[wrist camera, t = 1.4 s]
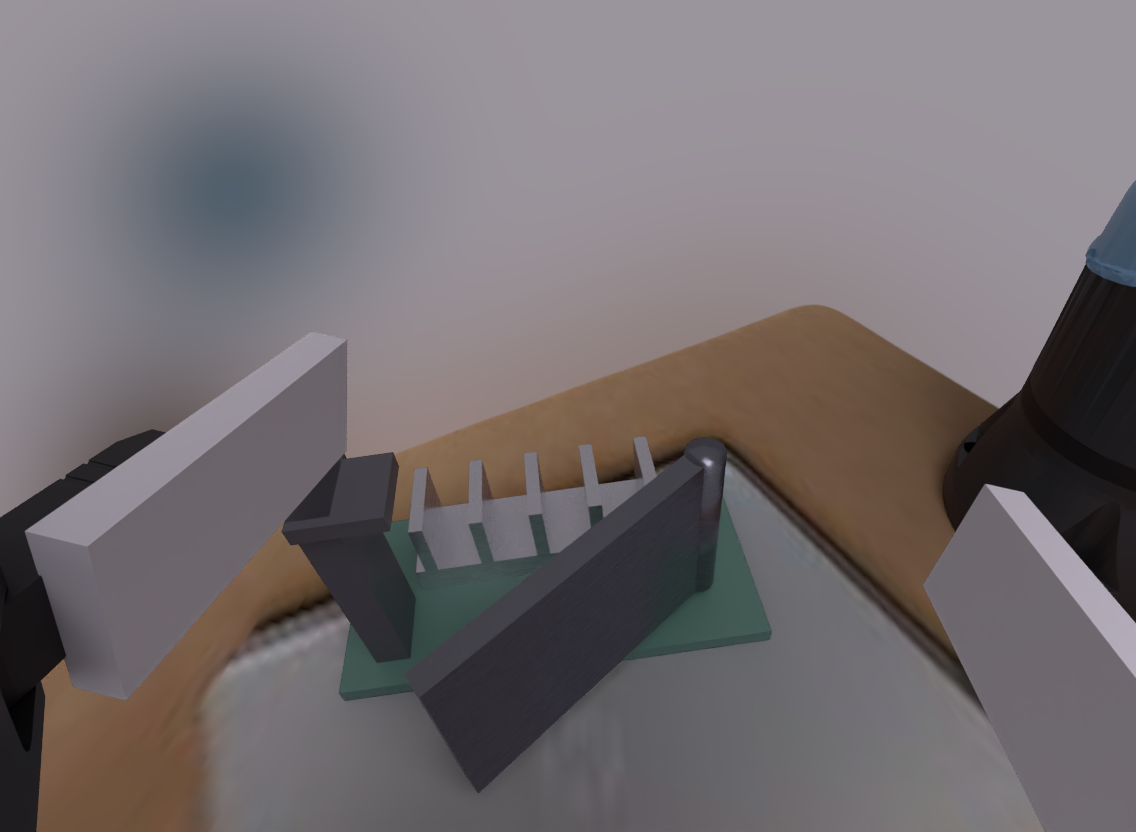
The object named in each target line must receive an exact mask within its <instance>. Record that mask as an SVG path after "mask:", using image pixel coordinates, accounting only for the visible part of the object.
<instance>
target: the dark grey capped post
mask: <svg viewBox="0 0 1136 832" xmlns="http://www.w3.org/2000/svg"><path fill="white" fill-rule="evenodd" d="M398 468H399V465H398V463H397V461H396V458H395V456H394V453H393V452H391V453H384V454H377V455H370V456H363V457H356V458H349V459H347V458H346V456H345V454H343V455H342V456H341V458H340V459H339V460H338V461H337V462H336V463H335V464H334V466H333V467H332V468H331V469H330V470H329V471H328V472H327V473H326V475H325V476H324V477H323V478H322V479H321V480H320V481H319V483H318V484H317V485H316V486H315V487H314V488H313V489H312V491H311V492H310V493H309V494H308V495H307V496H306V497H305V498H304V500H303V501H302V502H301V503H300V504H299V505H298V506H297V508H296V509H295V510H294V511H293V512H292V513H291V514H290V515H289V517H288V518H287V519H286V520H285V522H284V526H283V529H282V533H283V535H284V536H285V538H286V539H287V540H288V542H289V543H290V545H297V544H299V546H300V547H301V549H302V550H303V552H304V553H305V555H306V556H307V558H308V559H309V561H310V562H311V564H312V566H313V567H314V569H315V570H316V572H317V573H318V575H319V576H320V578H321V579H322V581H323V582H324V584H325V585H326V587H327V588H328V590H329V591H330V593H331V594H332V596H333V597H334V599H335V600H336V602H337V603H338V605H339V606H340V608H341V609H342V611H343V612H344V614H345V616H346V617H347V619H348V620H349V622H350V623H351V625H352V626H353V628H354V629H355V631H356V632H357V634H358V635H359V637H360V638H361V640H362V641H363V643H364V644H365V646H366V647H367V649H368V650H369V652H370V653H371V655H372V656H373V658H374V659H375V661H376V662H377V663H381V662H388V661H395V660H402V659H409V658H411V648H412V637H413V625H414V613H415V602H416V598H415V596H414V594H413V592H412V590H411V588H410V585H409V583H408V581H407V579H406V577H405V575H404V573H403V571H402V569H401V567H400V565H399V563H398V561H397V559H396V557H395V555H394V553H393V551H392V549H391V547H390V545H389V543H388V541H387V539H386V537H385V535H384V533H383V532H388V531H390V529H391V522H392V514H393V506H394V499H395V491H396V484H397V476H398Z"/></svg>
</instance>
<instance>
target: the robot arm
mask: <svg viewBox="0 0 1136 832" xmlns="http://www.w3.org/2000/svg"><path fill="white" fill-rule="evenodd" d="M1086 258H1087V259H1086V265H1085V267H1084V269H1083V271H1082V273H1081V275H1080V277H1079V279H1078V281H1077V283H1076V285H1075V286H1074V289H1073V290H1072V293H1071V294H1070V296H1069V299H1068V300H1067V302H1066V304H1065V306H1064V308H1063V310H1062V312H1061V314H1060V316H1059V318H1058V320H1057V322H1056V324H1055V326H1054V328H1053V330H1052V332H1051V334H1050V336H1049V338H1048V340H1047V342H1046V344H1045V346H1044V347H1043V349H1042V351H1041V353H1040V355H1039V357H1038V359H1037V361H1036V362H1035V364H1034V367H1033V369H1032V371H1031V373H1030V375H1029V377H1028V378H1027V380H1026V382H1025V384H1024V386H1023V388H1022V390H1021V391H1020V392H1019V393H1018V394H1016V395H1015V396H1014V397H1013V398H1012V399H1010V400H1009V401H1008V402H1007V403H1006V404H1004V405H1003V406H1002V407H1001V408H1000V409H998V410H997V411H996V412H995V413H994V414H992V415H991V416H990V417H989V418H988V419H986V420H985V421H984V422H983V423H982V424H981V425H980V426H978V427H977V428H976V429H974V430H973V431H972V432H971V433H970V434H969V435H968V436H967V437H966V438H965V439H964V440H963V442H962V443H961V444H960V446H959V447H958V449H957V451H956V453H955V455H954V457H953V459H952V461H951V463H950V465H949V468H948V470H947V472H946V475H945V479H944V485H943V495H944V502H945V506H946V509H947V512H948V515H949V517H950V519H951V521H952V523H953V525H954V527H955V529H956V532H955V534H954V535H953V537H952V539H951V540H950V542H949V543H948V545H947V547H946V548H945V550H944V552H943V553H942V555H941V557H940V558H939V560H938V561H937V563H936V565H935V566H934V568H933V570H932V571H931V573H930V575H929V576H928V578H927V580H926V581H925V583H924V584H923V587H924V589H925V591H926V593H927V595H928V597H929V599H930V601H931V603H932V605H933V607H934V609H935V611H936V613H937V615H938V617H939V619H940V621H941V623H942V625H943V627H944V629H945V631H946V633H947V635H948V637H949V639H950V641H951V643H952V645H953V647H954V649H955V651H956V653H957V655H958V657H959V659H960V661H961V663H962V665H963V667H964V669H965V671H966V673H967V675H968V677H969V679H970V681H971V683H972V685H973V687H974V689H975V691H976V694H977V696H978V698H979V700H980V702H981V704H982V706H983V708H984V710H985V712H986V714H987V716H988V718H989V720H990V722H991V724H992V726H993V728H994V730H995V732H996V734H997V736H998V738H999V740H1000V742H1001V744H1002V746H1003V748H1004V750H1005V752H1006V754H1007V756H1008V758H1009V760H1010V762H1011V764H1012V766H1013V768H1014V770H1015V772H1016V774H1017V776H1018V778H1019V780H1020V782H1021V784H1022V786H1023V788H1024V790H1025V792H1026V794H1027V796H1028V798H1029V800H1030V802H1031V804H1032V806H1033V808H1034V810H1035V812H1036V814H1037V816H1038V818H1039V820H1040V822H1041V824H1042V826H1043V828H1044V830H1045V832H1136V181H1135V182H1134V183H1133V184H1132V185H1131V187H1130V188H1129V189H1128V191H1127V192H1126V194H1125V196H1124V198H1123V199H1122V201H1121V202H1120V204H1119V206H1118V207H1117V209H1116V211H1115V212H1114V214H1113V216H1112V217H1111V219H1110V221H1109V222H1108V224H1107V226H1106V227H1105V229H1104V231H1103V232H1102V234H1101V235H1100V236H1098V237H1097V238H1096V239H1095V240H1094V241H1093V242H1092V244H1091V245H1090V247H1089V249H1088V251H1087V253H1086ZM346 429H347V340H346V339H342V338H337V337H333V336H329V335H324V334H320V333H315V332H310V333H309V334H308V335H306V336H305V337H303V338H302V339H300V340H299V341H297V342H296V343H295V344H293V345H292V346H290V347H289V348H287V349H286V350H284V351H283V352H282V353H280V354H279V355H277V356H276V357H274V358H273V359H272V360H270V361H269V362H267V363H266V364H264V365H263V366H262V367H260V368H259V369H257V370H256V371H254V372H253V373H251V374H250V375H249V376H247V377H246V378H244V379H243V380H241V381H240V382H238V383H237V384H236V385H234V386H233V387H231V388H230V389H228V390H227V391H226V392H224V393H223V394H221V395H220V396H218V397H217V398H215V399H214V400H213V401H211V402H210V403H208V404H207V405H205V406H204V407H203V408H201V409H200V410H198V411H197V412H195V413H194V414H192V415H191V416H190V417H188V418H187V419H185V420H184V421H182V422H181V423H180V424H178V425H177V426H175V427H174V428H172V429H171V430H170V431H168V432H167V433H165V432H161V431H156V430H153V429H152V430H149V431H146V432H143V433H140V434H138V435H135V436H132V437H129V438H126V439H124V440H121V441H118V442H116V443H114V444H113V445H111V446H110V447H108V448H107V449H105V450H103V451H102V452H100V453H99V454H98V455H96V456H94V457H93V458H91V459H90V460H89V462H88V464H82V465H80V466H79V467H77V468H76V469H74V470H73V471H71V472H70V473H68V474H67V475H66V478H65V479H64V480H63V479H59V480H57V481H56V482H54V483H53V484H51V485H50V486H48V487H47V488H45V489H44V490H42V491H40V492H39V493H37V494H36V495H34V496H33V497H31V498H30V499H28V500H27V501H25V502H23V503H22V504H20V505H19V506H18V507H16V508H14V509H13V510H11V511H10V512H8V513H7V514H5V515H3V516H2V517H0V832H36V827H37V812H38V797H39V782H40V767H41V752H42V737H43V722H44V707H45V694H44V690H43V687H42V683H41V680H42V679H43V678H44V677H45V676H46V675H47V674H48V673H49V672H50V671H51V670H52V669H53V668H54V667H55V666H57V665H58V664H59V663H60V662H61V661H62V660H63V659H65V662H66V666H67V669H68V672H69V675H70V679H71V682H72V685H73V687H74V688H78V689H82V690H86V691H90V692H94V693H98V694H102V695H106V696H109V697H113V698H117V699H121V700H125V701H127V699H128V698H129V697H130V696H131V695H132V694H133V693H134V692H135V690H136V689H137V688H138V687H139V686H140V685H141V684H142V682H143V681H144V680H145V679H146V678H147V677H148V676H149V674H150V673H151V672H152V671H153V670H154V669H155V668H156V667H157V665H158V664H159V663H160V662H161V661H162V660H163V659H164V657H165V656H166V655H167V654H168V653H169V652H170V651H171V649H172V648H173V647H174V646H175V645H176V644H177V643H178V642H179V640H180V639H181V638H182V637H183V636H184V635H185V634H186V632H187V631H188V630H189V629H190V628H191V627H192V626H193V625H194V623H195V622H196V621H197V620H198V619H199V618H200V617H201V615H202V614H203V613H204V612H205V611H206V610H207V609H208V607H209V606H210V605H211V604H212V603H213V602H214V601H215V600H216V598H217V597H218V596H219V595H220V594H221V593H222V592H223V590H224V589H225V588H226V587H227V586H228V585H229V584H230V582H231V581H232V580H233V579H234V578H235V577H236V576H237V575H238V573H239V572H240V571H241V570H242V569H243V568H244V567H245V565H246V564H247V563H248V562H249V561H250V560H251V559H252V558H253V556H254V555H255V554H256V553H257V552H258V551H259V550H260V548H261V547H262V546H263V545H264V544H265V543H266V542H267V540H268V539H269V538H270V537H271V536H272V535H273V534H274V533H275V531H276V530H277V529H278V528H279V527H280V526H281V525H282V523H283V522H284V521H285V520H286V519H287V518H288V517H289V515H290V514H291V513H292V512H293V511H294V510H295V509H296V508H297V506H298V505H299V504H300V503H301V502H302V501H303V500H304V498H305V497H306V496H307V495H308V494H309V493H310V492H311V491H312V489H313V488H314V487H315V486H316V485H317V484H318V483H319V481H320V480H321V479H322V478H323V477H324V476H325V475H326V473H327V472H328V471H329V470H330V469H331V468H332V467H333V466H334V464H335V463H336V462H337V461H338V460H339V459H340V458H341V456H342V455H343V454H344V453H345V452H346V440H347V437H346V434H347V430H346Z"/></svg>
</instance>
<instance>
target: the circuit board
mask: <svg viewBox="0 0 1136 832" xmlns="http://www.w3.org/2000/svg"><path fill="white" fill-rule="evenodd" d="M408 529H409V519H408V520H401V521H394V522H391V529H390V531H388V532H383V533H384V535H385V537H386V539H387V541H388V543H389V545H390V547H391V549H392V551H393V553H394V555H395V557H396V559H397V561H398V563H399V565H400V567H401V569H402V571H403V573H404V575H405V577H406V579H407V581H408V583H409V585H410V588H411V590H412V592H413V594H414V596H415V598H416V602H415V613H414V625H413V637H412V648H411V658H409V659H402V660H395V661H388V662H381V663H377V662H376V661H375V659H374V658H373V656H372V655H371V653H370V652H369V650H368V649H367V647H366V646H365V644H364V643H363V641H362V640H361V638H360V637H359V635H358V634H357V632H356V631H355V629H354V628H353V626H352V625H351V624H350V630H349V636H348V642H347V648H346V654H345V660H344V666H343V672H342V678H341V684H340V690H339V694H340V695H341V696H342V698H343V699H344V700H345V701H346V700H353V699H360V698H367V697H374V696H381V695H388V694H395V693H402V692H409V691H414V690H413V689H412V687H411V685H410V684H409V682H408V681H407V679H406V677H405V676H404V673H406V672H407V671H408V670H409V669H411V668H412V667H413V666H414V665H416V664H417V663H418V662H420V661H421V660H422V659H423V658H425V657H426V656H427V655H429V654H430V653H431V652H432V651H434V650H435V649H436V648H438V647H439V646H440V645H441V644H443V643H444V642H445V641H447V640H448V639H449V638H450V637H452V636H453V635H454V634H456V633H457V632H458V631H459V630H461V629H462V628H463V627H464V626H466V625H467V624H468V623H470V622H471V621H472V620H473V619H475V618H476V617H477V616H479V615H480V614H481V613H482V612H484V611H485V610H486V609H488V608H489V607H490V606H491V605H493V604H494V603H495V602H497V601H498V600H499V599H500V598H502V597H503V596H504V595H506V594H507V593H508V592H509V591H511V590H512V589H513V588H514V587H516V586H517V585H518V584H520V583H521V582H522V581H523V580H525V579H526V578H527V577H529V576H530V575H527V576H520V577H513V578H506V579H499V580H492V581H485V582H478V583H471V584H464V585H457V586H450V587H443V588H436V589H429V590H424V589H423V587H422V585H421V582H420V580H419V578H418V576H417V574H416V567H417V556H418V554H417V551H416V549H415V547H414V545H413V542H412V540H411V538H410V536H409V534H408ZM771 632H772V631H771V628H770V625H769V622H768V620H767V617H766V614H765V611H764V609H763V606H762V603H761V600H760V598H759V595H758V592H757V589H756V587H755V584H754V581H753V578H752V576H751V573H750V570H749V567H748V565H747V562H746V559H745V556H744V554H743V551H742V548H741V545H740V543H739V540H738V537H737V534H736V532H735V529H734V526H733V523H732V521H731V518H730V515H729V512H728V510H727V507H726V504H725V501H724V499H723V496H722V505H721V515H720V524H719V534H718V544H717V553H716V563H715V572H714V581H713V584H712V586H711V587H710V588H709V589H708V590H706V591H703V592H695V593H694V594H693V595H692V596H691V597H690V598H689V599H688V600H686V601H685V602H684V603H683V604H682V605H681V606H680V607H679V608H678V609H677V610H676V611H675V612H673V613H672V614H671V615H670V616H669V617H668V618H667V619H666V620H665V621H664V622H663V623H662V624H661V625H659V626H658V627H657V628H656V629H655V630H654V631H653V632H652V633H651V634H650V635H649V636H648V637H647V638H645V639H644V640H643V641H642V642H641V643H640V644H639V645H638V646H637V647H636V648H635V649H634V650H632V651H631V652H630V653H629V654H628V655H627V656H626V657H625V658H624V659H623V660H622V661H624V660H631V659H637V658H644V657H651V656H658V655H665V654H672V653H679V652H686V651H693V650H700V649H707V648H714V647H721V646H728V645H735V644H741V643H748V642H755V641H762V640H769V639H770V636H771Z"/></svg>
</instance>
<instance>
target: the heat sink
mask: <svg viewBox="0 0 1136 832" xmlns="http://www.w3.org/2000/svg"><path fill="white" fill-rule="evenodd" d="M633 446H634V470H635V479H634V480H627V481H620V482H613V483H606V484H599V485H598V480H597V474H596V468H595V463H594V457H593V452H592V446H591V444H587V445H580V446H579V452H580V460H581V468H582V476H583V484H584V487H578V488H571V489H564V490H557V491H550V492H544V488H543V482H542V477H541V472H540V467H539V462H538V457H537V452H531V453H524V460H525V474H526V489H527V495H522V496H515V497H508V498H501V499H494V500H493V497H492V493H491V490H490V486H489V483H488V479H487V476H486V472H485V468H484V465H483V461H482V459H481V460H474V461H469V503H466V504H459V505H452V506H445V507H442V505H441V503H440V500H439V497H438V495H437V492H436V489H435V487H434V484H433V481H432V478H431V476H430V473H429V470H428V468H427V467H425V468H418V469H415V472H414V481H413V491H412V500H411V510H410V519H409V529H408V534H409V536H410V538H411V540H412V542H413V545H414V547H415V549H416V551H417V554H418V556H417V567H416V574H417V576H418V578H419V580H420V582H421V585H422V587H423V589H424V590H429V589H436V588H443V587H450V586H457V585H464V584H471V583H478V582H485V581H492V580H499V579H506V578H513V577H520V576H527V575H531V574H532V573H534V572H535V571H536V570H538V569H539V568H540V567H541V566H543V565H544V564H545V563H547V562H548V561H549V560H550V559H552V558H553V557H554V556H555V555H557V554H558V553H559V552H561V551H562V550H563V549H564V548H566V547H567V546H568V545H570V544H571V543H572V542H573V541H575V540H576V539H577V538H579V537H580V536H581V535H582V534H584V533H585V532H586V531H588V530H589V529H590V528H591V527H593V526H594V525H595V524H597V523H598V522H599V521H600V520H602V519H603V518H604V517H605V516H607V515H608V514H609V513H611V512H612V511H613V510H614V509H616V508H617V507H618V506H620V505H621V504H622V503H623V502H625V501H626V500H627V499H629V498H630V497H631V496H632V495H634V494H635V493H636V492H638V491H639V490H640V489H641V488H643V487H644V486H645V485H647V484H648V483H649V482H650V481H652V480H653V479H654V478H655V477H657V476H656V472H655V469H654V465H653V461H652V458H651V454H650V450H649V447H648V443H647V439H646V436H643V437H636V438H633Z"/></svg>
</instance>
